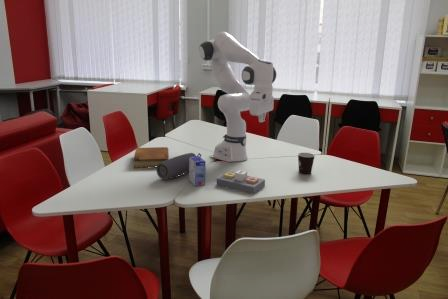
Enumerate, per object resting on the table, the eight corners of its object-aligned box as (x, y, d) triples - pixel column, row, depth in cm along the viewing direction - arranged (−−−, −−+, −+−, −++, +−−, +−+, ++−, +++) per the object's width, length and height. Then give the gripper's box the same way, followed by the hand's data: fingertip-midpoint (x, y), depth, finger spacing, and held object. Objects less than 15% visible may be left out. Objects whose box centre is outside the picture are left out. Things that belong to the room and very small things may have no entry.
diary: (168, 168, 208) (168, 158, 207) (133, 169, 206) (133, 159, 204) (168, 156, 230) (168, 146, 228) (136, 156, 227) (136, 147, 226)
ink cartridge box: (205, 185, 184) (206, 156, 180) (194, 186, 182) (195, 157, 178) (199, 178, 193) (199, 151, 189) (188, 179, 191) (188, 152, 187)
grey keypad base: (216, 185, 184) (216, 178, 183) (228, 178, 194) (229, 171, 193) (253, 194, 174) (254, 187, 173) (264, 186, 184) (265, 179, 183)
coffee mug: (313, 176, 200) (314, 157, 198) (296, 174, 202) (297, 156, 199) (312, 169, 211) (314, 151, 208) (297, 167, 213) (298, 150, 210)
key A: (223, 183, 186) (223, 174, 185) (228, 180, 190) (228, 171, 189) (231, 185, 184) (231, 175, 183) (235, 182, 188) (236, 173, 187)
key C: (245, 188, 181) (245, 179, 179) (249, 185, 184) (250, 176, 183) (253, 190, 178) (254, 180, 177) (257, 187, 182) (258, 178, 181)
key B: (234, 181, 183) (234, 172, 182) (239, 178, 186) (239, 169, 185) (242, 183, 181) (243, 173, 179) (247, 180, 184) (247, 171, 183)
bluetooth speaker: (185, 167, 208) (185, 150, 205) (198, 171, 203) (199, 153, 200) (155, 179, 190) (155, 160, 188) (169, 183, 185) (169, 164, 182)
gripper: (266, 91, 195) (264, 117, 199) (247, 95, 178) (246, 124, 182) (277, 92, 192) (275, 119, 196) (260, 96, 175) (258, 126, 179)
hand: (261, 121), depth 189 cm, fingers closed
